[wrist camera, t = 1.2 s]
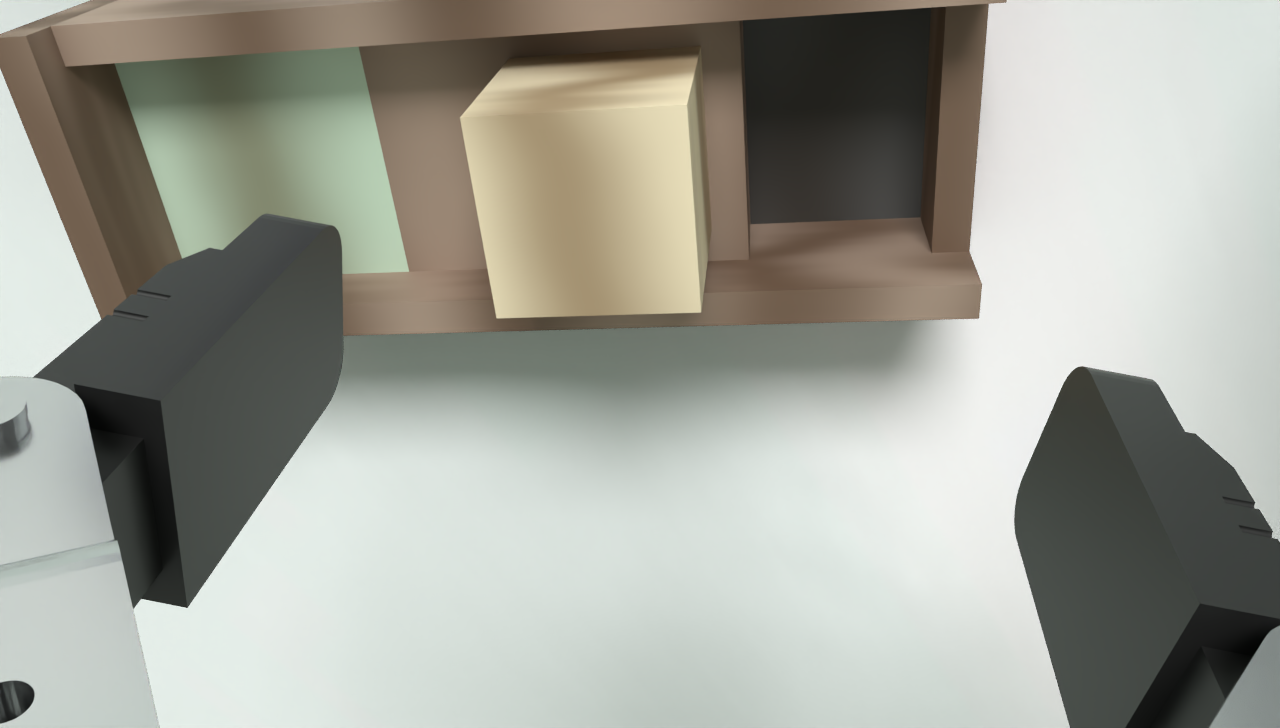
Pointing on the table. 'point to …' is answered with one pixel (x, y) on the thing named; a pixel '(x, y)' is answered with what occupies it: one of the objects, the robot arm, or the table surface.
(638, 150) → the birch block
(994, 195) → the table surface
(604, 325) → the brown wooden long box
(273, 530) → the table surface
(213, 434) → the robot arm
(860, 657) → the table surface
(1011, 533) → the table surface
